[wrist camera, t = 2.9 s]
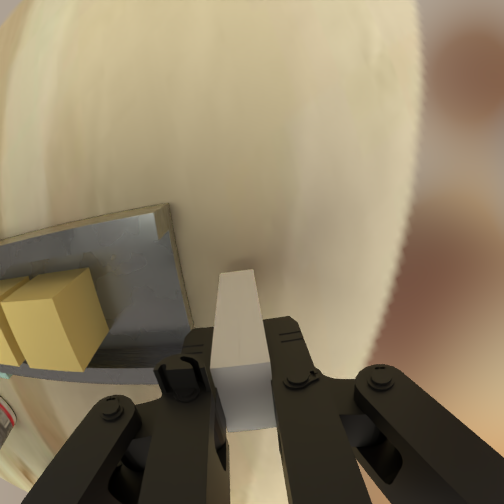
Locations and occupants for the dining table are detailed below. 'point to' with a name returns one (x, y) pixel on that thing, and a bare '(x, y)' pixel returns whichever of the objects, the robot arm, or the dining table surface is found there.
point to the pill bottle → (5, 421)
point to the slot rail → (114, 289)
